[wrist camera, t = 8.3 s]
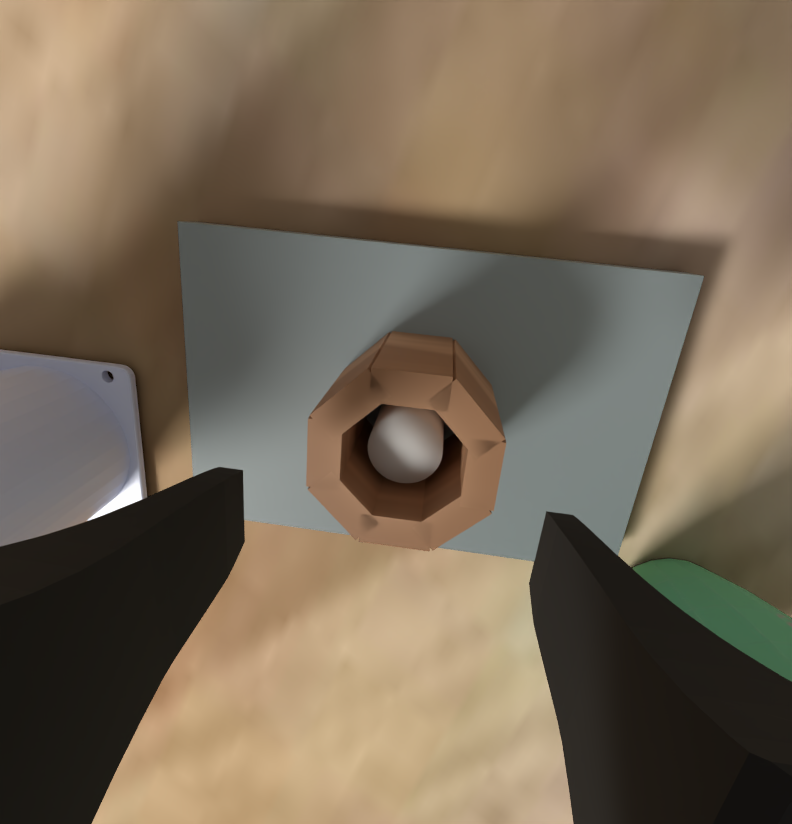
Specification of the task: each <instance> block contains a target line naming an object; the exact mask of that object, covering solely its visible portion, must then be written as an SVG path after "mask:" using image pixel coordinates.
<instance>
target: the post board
mask: <svg viewBox="0 0 792 824" xmlns="http://www.w3.org/2000/svg"><path fill="white" fill-rule="evenodd" d="M178 237H179V254H180V270H181V286H182V302H183V319H184V335H185V351H186V367H187V384H188V400H189V416H190V432H191V448H192V465H193V477H194V476H196V475H198V474H201V473H203V472H205V471H208V470H211V469H214V468H217V467H224V468H231V469H239V470H243V488H244V520H249V521H256V522H263V523H270V524H277V525H284V526H291V527H298V528H305V529H312V530H319V531H326V532H333V533H340V534H347V535H350V534H349V533H348V531H347V530H346V529H345V528H344V527H343V526H342V525H341V524H340V523H339V522H338V521H337V520H336V519H335V518H334V517H333V516H332V515H331V514H330V513H329V512H328V510H327V509H326V508H325V507H324V506H323V505H322V504H321V503H320V502H319V501H318V500H317V499H316V498H315V497H314V496H313V495H312V494H311V493H310V492H309V491H308V488H309V487H308V486H306V472H307V432H308V418H309V416H310V414H311V412H312V411H313V410H314V409H315V407H316V406H317V405H318V403H319V402H320V401H321V399H322V398H323V397H324V395H325V394H326V393H327V391H328V390H329V389H330V387H331V386H332V385H333V383H334V382H335V381H336V380H337V378H338V377H339V376H340V374H341V373H342V372H343V370H344V369H345V368H346V367H347V366H348V365H350V364H351V363H352V362H353V361H354V360H356V359H357V358H358V357H359V356H361V355H362V354H363V353H364V352H365V351H367V350H368V349H369V348H370V347H372V346H373V345H374V344H375V343H376V342H378V341H379V340H380V339H381V338H383V337H384V336H385V335H386V334H387V333H389V332H390V333H391V332H392V331H396V332H405V333H414V334H423V335H432V336H441V337H450V338H453V341H454V340H456V341H457V342H458V343H459V345H460V346H461V347H462V348H463V350H464V351H465V352H466V353H467V355H468V356H469V357H470V358H471V360H472V361H473V362H474V364H475V365H476V366H477V367H478V369H479V370H480V371H481V372H482V374H483V375H484V376H485V377H486V379H487V380H488V381H489V382H490V384H491V385H492V388H493V392H494V396H495V400H496V404H497V408H498V412H499V416H500V420H501V424H502V428H503V431H504V435H505V439H506V448H505V453H504V458H503V464H502V469H501V475H500V480H499V485H498V491H497V496H496V502H495V507H494V511H491V512H492V514H491V515H489V516H488V517H486V518H484V519H483V520H481V521H480V522H478V523H476V524H475V525H473V526H471V527H470V528H468V529H467V530H465V531H463V532H462V533H460V534H459V535H457V536H455V537H454V538H452V539H451V540H449V541H447V542H446V543H444V544H443V545H441V546H439V547H438V548H444V549H451V550H458V551H465V552H472V553H479V554H486V555H493V556H500V557H507V558H514V559H521V560H528V561H535V557H536V553H537V548H538V544H539V540H540V536H541V532H542V527H543V523H544V519H545V515H546V511H548V512H555V513H563V514H570V515H574V516H575V517H576V518H578V519H579V520H580V521H581V522H582V523H583V524H585V525H586V526H587V527H588V528H589V529H590V530H591V531H592V532H593V533H594V534H595V535H596V536H597V537H598V538H599V539H601V540H602V541H603V542H604V543H605V544H606V545H607V546H608V547H609V548H610V549H611V550H612V551H613V552H614V553H615V554H617V555H618V553H619V550H620V547H621V543H622V540H623V537H624V534H625V531H626V527H627V524H628V521H629V518H630V514H631V511H632V508H633V505H634V501H635V498H636V495H637V492H638V489H639V485H640V482H641V479H642V476H643V472H644V469H645V466H646V463H647V459H648V456H649V453H650V450H651V447H652V443H653V440H654V437H655V434H656V430H657V427H658V424H659V421H660V417H661V414H662V411H663V408H664V405H665V401H666V398H667V395H668V392H669V388H670V385H671V382H672V379H673V375H674V372H675V369H676V366H677V363H678V359H679V356H680V353H681V350H682V346H683V343H684V340H685V337H686V333H687V330H688V327H689V324H690V321H691V317H692V314H693V311H694V308H695V304H696V301H697V298H698V295H699V292H700V288H701V285H702V282H703V279H704V276H702V275H696V274H691V273H686V272H678V271H668V270H658V269H649V268H639V267H629V266H620V265H610V264H600V263H591V262H581V261H571V260H562V259H552V258H542V257H533V256H523V255H513V254H504V253H494V252H484V251H475V250H465V249H455V248H446V247H436V246H426V245H417V244H407V243H397V242H388V241H378V240H368V239H359V238H349V237H339V236H330V235H320V234H310V233H301V232H291V231H281V230H272V229H262V228H252V227H242V226H233V225H223V224H213V223H204V222H181V221H178ZM367 420H368V421H369V422H370V423H371V424H372V426H373V429H372V432H371V434H370V437H369V440H368V455H369V458H370V461H371V463H372V465H373V466H374V468H375V469H376V470H377V471H378V472H379V473H380V474H381V475H383V476H384V477H386V478H387V479H389V480H392V481H395V482H399V483H415V482H419V481H422V480H424V479H426V478H428V477H429V476H430V475H432V474H433V473H434V472H435V471H436V469H437V468H438V466H439V464H440V462H441V460H442V455H443V441H444V440H446V439H447V438H448V437H450V436H451V435H453V434H454V432H453V431H452V430H451V429H450V427H449V426H448V425H447V424H446V423H445V421H444V420H443V419H442V418H441V417H440V415H439V414H438V413H437V412H436V411H435V410H428V409H420V408H412V407H403V406H395V405H387V404H381V405H379V406H378V407H377V408H375V409H374V410H373V411H371V412H370V413H369V414H368V415H367Z"/></svg>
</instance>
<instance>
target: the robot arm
mask: <svg viewBox="0 0 792 824" xmlns="http://www.w3.org/2000/svg"><path fill="white" fill-rule="evenodd" d="M108 371H109V372H111V373H112V374H113V377H114V379H111V378H110V377H109V376H108ZM244 542H245V538H244V488H243V470H239V469H231V468H224V467H217V468H214V469H211V470H208V471H205V472H203V473H201V474H198V475H196V476H194V477H191V478H189V479H187V480H185V481H183V482H180V483H178V484H176V485H174V486H171V487H169V488H167V489H165V490H162V491H160V492H158V493H156V494H153V495H151V496H149V497H147V489H146V479H145V469H144V459H143V449H142V439H141V429H140V420H139V410H138V400H137V390H136V380H135V375H134V372H133V371H132V369H131V368H129V367H128V366H126V365H122V364H114V363H106V362H98V361H90V360H82V359H74V358H66V357H58V356H50V355H42V354H34V353H26V352H18V351H10V350H2V349H0V824H91V823H92V821H93V819H94V817H95V815H96V813H97V811H98V808H99V806H100V804H101V802H102V800H103V798H104V796H105V793H106V791H107V789H108V787H109V785H110V783H111V780H112V778H113V776H114V774H115V772H116V770H117V768H118V766H119V764H120V762H121V760H122V758H123V756H124V754H125V752H126V750H127V748H128V746H129V744H130V742H131V740H132V738H133V736H134V734H135V732H136V729H137V727H138V725H139V723H140V721H141V720H142V718H143V716H144V714H145V712H146V710H147V708H148V706H149V704H150V702H151V700H152V699H153V697H154V695H155V693H156V691H157V689H158V687H159V685H160V683H161V681H162V679H163V678H164V676H165V674H166V673H167V671H168V669H169V668H170V666H171V664H172V663H173V661H174V659H175V658H176V656H177V655H178V653H179V652H180V650H181V648H182V647H183V645H184V644H185V642H186V641H187V639H188V638H189V636H190V635H191V633H192V632H193V630H194V629H195V627H196V626H197V624H198V623H199V621H200V620H201V618H202V617H203V615H204V614H205V612H206V611H207V609H208V607H209V606H210V604H211V603H212V601H213V600H214V598H215V597H216V595H217V594H218V592H219V590H220V589H221V587H222V586H223V584H224V583H225V581H226V579H227V578H228V576H229V574H230V572H231V570H232V568H233V566H234V564H235V562H236V560H237V557H238V555H239V553H240V551H241V548H242V546H243V544H244ZM529 585H530V595H531V605H532V614H533V622H534V627H535V631H536V635H537V640H538V644H539V648H540V652H541V656H542V660H543V664H544V668H545V672H546V676H547V680H548V684H549V688H550V692H551V696H552V700H553V704H554V708H555V712H556V716H557V720H558V725H559V730H560V735H561V739H562V745H563V751H564V758H565V765H566V772H567V778H568V785H569V792H570V799H571V807H572V815H573V822H574V824H792V682H791V681H790V680H788V679H786V678H784V677H783V676H781V675H779V674H778V673H776V672H774V671H773V670H771V669H769V668H768V667H766V666H765V665H763V664H761V663H760V662H758V661H756V660H755V659H753V658H752V657H750V656H748V655H747V654H745V653H743V652H742V651H740V650H739V649H737V648H736V647H734V646H733V645H731V644H730V643H728V642H726V641H725V640H723V639H722V638H720V637H719V636H718V635H716V634H715V633H713V632H712V631H711V630H709V629H708V628H706V627H705V626H703V625H702V624H701V623H699V622H698V621H696V620H695V619H694V618H692V617H691V616H689V615H688V614H687V613H685V612H684V611H683V610H681V609H680V608H679V607H678V606H676V605H675V604H674V603H672V602H671V601H670V600H669V599H667V598H666V597H665V596H664V595H663V594H661V593H660V592H659V591H658V590H656V589H655V588H654V587H653V586H652V585H650V584H649V583H648V582H647V581H646V580H644V579H643V578H642V577H641V576H640V575H639V574H638V573H636V572H635V571H634V570H633V569H632V568H631V567H630V566H629V565H627V564H626V563H625V562H624V561H623V560H622V559H621V558H620V557H619V556H618V555H617V554H615V553H614V552H613V551H612V550H611V549H610V548H609V547H608V546H607V545H606V544H605V543H604V542H603V541H602V540H601V539H599V538H598V537H597V536H596V535H595V534H594V533H593V532H592V531H591V530H590V529H589V528H588V527H587V526H586V525H585V524H583V523H582V522H581V521H580V520H579V519H578V518H576V517H575V516H574V515H570V514H563V513H555V512H548V511H546V515H545V519H544V523H543V527H542V532H541V536H540V540H539V544H538V548H537V553H536V557H535V561H534V565H533V570H532V574H531V578H530V582H529Z"/></svg>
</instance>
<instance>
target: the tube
mask: <svg viewBox="0 0 792 824" xmlns="http://www.w3.org/2000/svg"><path fill="white" fill-rule="evenodd" d="M381 404H387V405H395V406H403V407H412V408H420V409H428V410H435V411H436V412H437V413H438V414H439V415H440V417H441V418H442V419H443V420H444V421H445V423H446V424H447V425H448V426H449V427H450V429H451V430H452V431H453V432H454V434H453V435H451V436H450V437H448V438H447V439H446V440H444V441H443V455H442V460H441V462H440V464H439V466H438V468H437V469H436V471H435V472H434V473H433V474H432V475H430V476H429V477H428V478H426V479H424V480H422V481H419V482H415V483H399V482H395V481H392V480H389V479H387V478H386V477H384V476H383V475H381V474H380V473H379V472H378V471H377V470H376V469H375V468H374V466H373V465H372V463H371V461H370V458H369V455H368V440H369V437H370V434H371V432H372V429H373V426H372V424H371V423H370V422H369V421H368V420H367V415H368V414H369V413H370V412H371V411H373V410H374V409H375V408H377V407H378V406H379V405H381ZM505 448H506V439H505V435H504V431H503V428H502V424H501V420H500V416H499V412H498V408H497V404H496V400H495V396H494V392H493V388H492V385H491V384H490V382H489V381H488V380H487V379H486V377H485V376H484V375H483V374H482V372H481V371H480V370H479V369H478V367H477V366H476V365H475V364H474V362H473V361H472V360H471V358H470V357H469V356H468V355H467V353H466V352H465V351H464V350H463V348H462V347H461V346H460V345H459V343H458V342H457V341H456V340H454V341H453V338H450V337H441V336H432V335H423V334H414V333H405V332H396V331H392V332H391V333H390V332H389V333H387V334H386V335H385V336H384V337H383V338H381V339H380V340H379V341H378V342H376V343H375V344H374V345H373V346H372V347H370V348H369V349H368V350H367V351H365V352H364V353H363V354H362V355H361V356H359V357H358V358H357V359H356V360H354V361H353V362H352V363H351V364H350V365H348V366H347V367H346V368H345V369H344V370H343V372H342V373H341V374H340V376H339V377H338V378H337V380H336V381H335V382H334V383H333V385H332V386H331V387H330V389H329V390H328V391H327V393H326V394H325V395H324V397H323V398H322V399H321V401H320V402H319V403H318V405H317V406H316V407H315V409H314V410H313V411H312V412H311V414H310V416H309V418H308V432H307V472H306V486H308V487H309V488H308V491H309V492H310V493H311V494H312V495H313V496H314V497H315V498H316V499H317V500H318V501H319V502H320V503H321V504H322V505H323V506H324V507H325V508H326V509H327V510H328V512H329V513H330V514H331V515H332V516H333V517H334V518H335V519H336V520H337V521H338V522H339V523H340V524H341V525H342V526H343V527H344V528H345V529H346V530H347V531H348V533H349V534H350V535H351V536H352V537H353V538H354V539H355V540H356V539H357V538H359V542H366V543H373V544H381V545H388V546H395V547H402V548H409V549H417V550H424V551H429V550H430V548H431V549H432V550H434V549H436V548H438V547H439V546H441V545H443V544H444V543H446V542H447V541H449V540H451V539H452V538H454V537H455V536H457V535H459V534H460V533H462V532H463V531H465V530H467V529H468V528H470V527H471V526H473V525H475V524H476V523H478V522H480V521H481V520H483V519H484V518H486V517H488V516H489V515H491V514H492V512H491V511H494V507H495V502H496V496H497V491H498V485H499V480H500V475H501V469H502V464H503V458H504V453H505Z"/></svg>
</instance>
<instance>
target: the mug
mask: <svg viewBox="0 0 792 824" xmlns="http://www.w3.org/2000/svg"><path fill="white" fill-rule="evenodd" d="M632 569H633V570H634V571H635V572H636V573H638V574H639V575H640V576H641V577H642V578H643V579H644V580H646V581H647V582H648V583H649V584H650V585H652V586H653V587H654V588H655V589H656V590H658V591H659V592H660V593H661V594H663V595H664V596H665V597H666V598H667V599H669V600H670V601H671V602H672V603H674V604H675V605H676V606H678V607H679V608H680V609H681V610H683V611H684V612H685V613H687V614H688V615H689V616H691V617H692V618H694V619H695V620H696V621H698V622H699V623H701V624H702V625H703V626H705V627H706V628H708V629H709V630H711V631H712V632H713V633H715V634H716V635H718V636H719V637H720V638H722V639H723V640H725V641H726V642H728V643H730V644H731V645H733V646H734V647H736V648H737V649H739V650H740V651H742V652H743V653H745V654H747V655H748V656H750V657H752V658H753V659H755V660H756V661H758V662H760V663H761V664H763V665H765V666H766V667H768V668H769V669H771V670H773V671H774V672H776V673H778V674H779V675H781V676H783V677H784V678H786V679H788V680H790V681H791V682H792V618H791V617H789V616H787V615H786V614H784V613H783V612H781V611H779V610H778V609H776V608H775V607H773V606H771V605H770V604H768V603H767V602H765V601H763V600H762V599H760V598H759V597H757V596H755V595H754V594H752V593H751V592H749V591H747V590H745V589H743V588H741V587H740V586H738V585H736V584H734V583H732V582H730V581H728V580H726V579H724V578H722V577H720V576H718V575H716V574H714V573H712V572H710V571H708V570H706V569H704V568H703V567H700V566H698V565H696V564H693V563H691V562H689V561H686V560H679V559H671V558H667V559H658V560H650V561H648V562H645V563H642V564H640V565H637V566H634V567H633V568H632Z"/></svg>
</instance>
